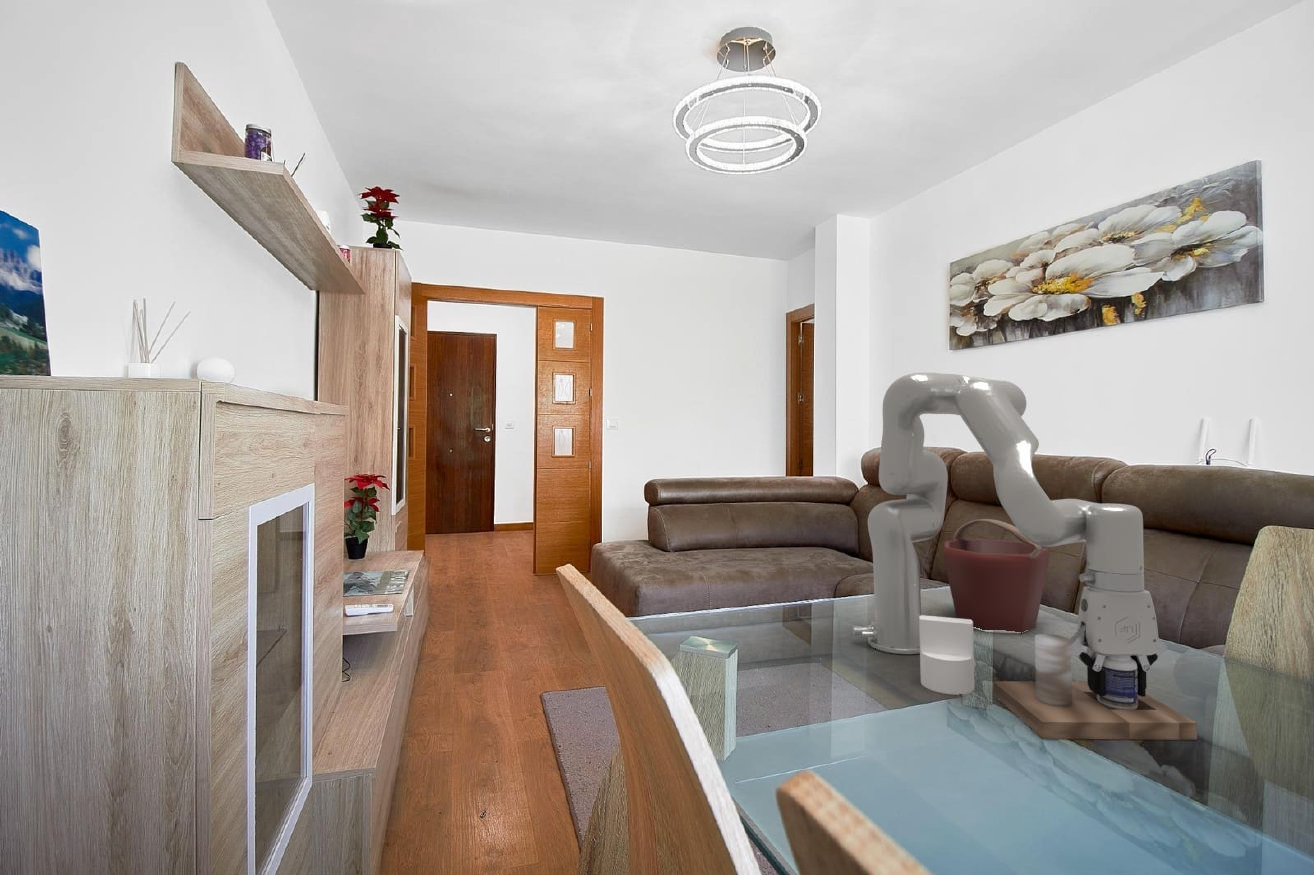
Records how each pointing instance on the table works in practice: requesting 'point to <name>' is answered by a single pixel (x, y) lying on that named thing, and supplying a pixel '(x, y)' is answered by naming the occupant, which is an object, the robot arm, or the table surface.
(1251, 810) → the table surface
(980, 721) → the table surface
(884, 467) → the robot arm
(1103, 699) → the pill bottle
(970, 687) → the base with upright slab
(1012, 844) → the table surface
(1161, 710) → the pin board
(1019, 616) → the bucket
